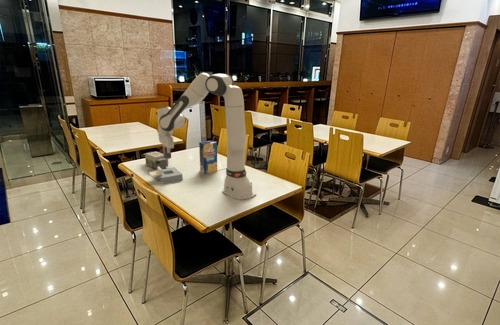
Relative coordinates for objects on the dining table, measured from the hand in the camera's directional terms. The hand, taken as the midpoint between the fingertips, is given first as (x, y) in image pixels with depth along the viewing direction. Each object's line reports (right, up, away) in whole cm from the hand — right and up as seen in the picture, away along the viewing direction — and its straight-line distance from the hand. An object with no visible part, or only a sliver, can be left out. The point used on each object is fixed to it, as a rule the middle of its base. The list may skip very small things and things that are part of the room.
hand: (167, 151), depth 187 cm
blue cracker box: (+25, -14, +21) cm, 36 cm away
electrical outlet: (-16, -10, +28) cm, 34 cm away
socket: (-1, -18, +6) cm, 19 cm away
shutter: (-8, -15, 0) cm, 17 cm away
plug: (0, -4, +1) cm, 4 cm away
